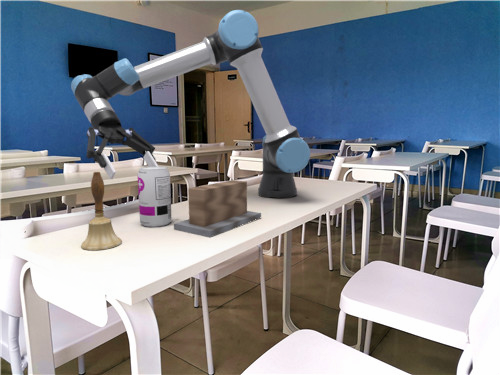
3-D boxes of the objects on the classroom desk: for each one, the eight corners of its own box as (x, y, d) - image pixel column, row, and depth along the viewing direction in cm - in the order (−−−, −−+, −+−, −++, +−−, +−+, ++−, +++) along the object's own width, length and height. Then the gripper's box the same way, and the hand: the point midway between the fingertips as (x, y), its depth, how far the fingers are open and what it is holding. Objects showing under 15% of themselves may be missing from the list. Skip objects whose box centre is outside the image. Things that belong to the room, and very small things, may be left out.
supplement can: (140, 228, 88) (136, 170, 86) (140, 220, 96) (137, 166, 94) (172, 226, 91) (170, 169, 88) (170, 218, 99) (168, 166, 96)
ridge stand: (227, 212, 106) (227, 178, 104) (261, 218, 99) (261, 181, 97) (173, 229, 88) (172, 188, 86) (209, 237, 81) (209, 192, 80)
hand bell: (75, 244, 76) (69, 172, 74) (112, 236, 82) (108, 169, 80) (89, 253, 71) (83, 175, 68) (128, 244, 76) (124, 172, 74)
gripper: (135, 127, 113) (166, 177, 107) (55, 127, 94) (87, 187, 87) (144, 110, 109) (177, 161, 103) (62, 106, 90) (96, 167, 83)
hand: (136, 173), depth 95 cm, fingers open, 13 cm apart
